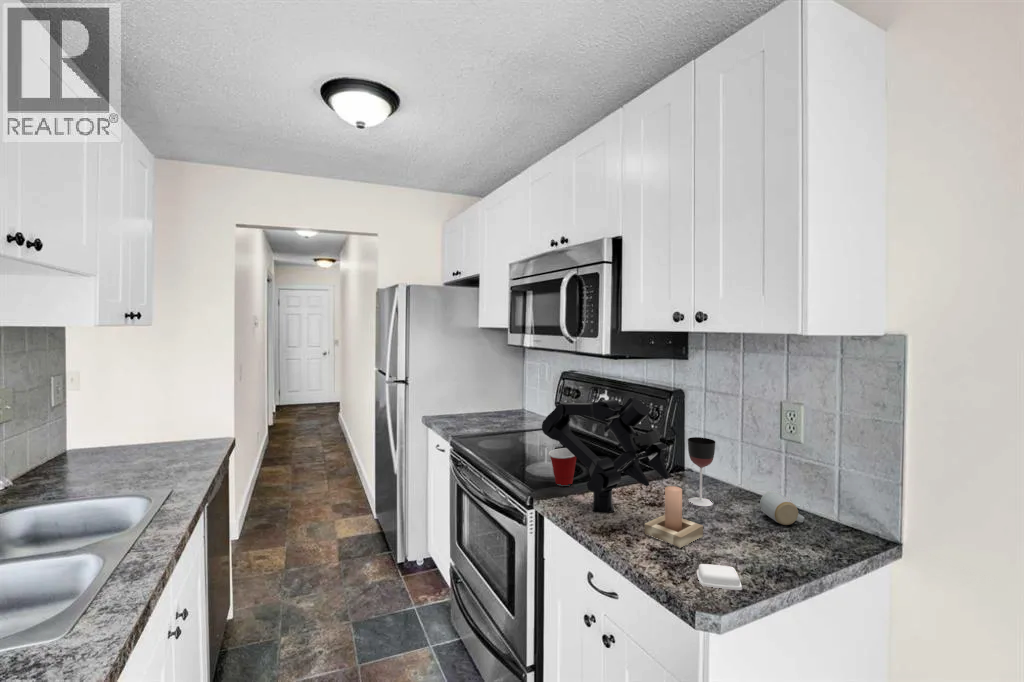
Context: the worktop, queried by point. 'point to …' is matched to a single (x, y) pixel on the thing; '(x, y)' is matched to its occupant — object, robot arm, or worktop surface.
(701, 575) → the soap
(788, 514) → the ceramic mug
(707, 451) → the wineglass
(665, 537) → the socket block
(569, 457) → the plastic cup
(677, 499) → the dowel
